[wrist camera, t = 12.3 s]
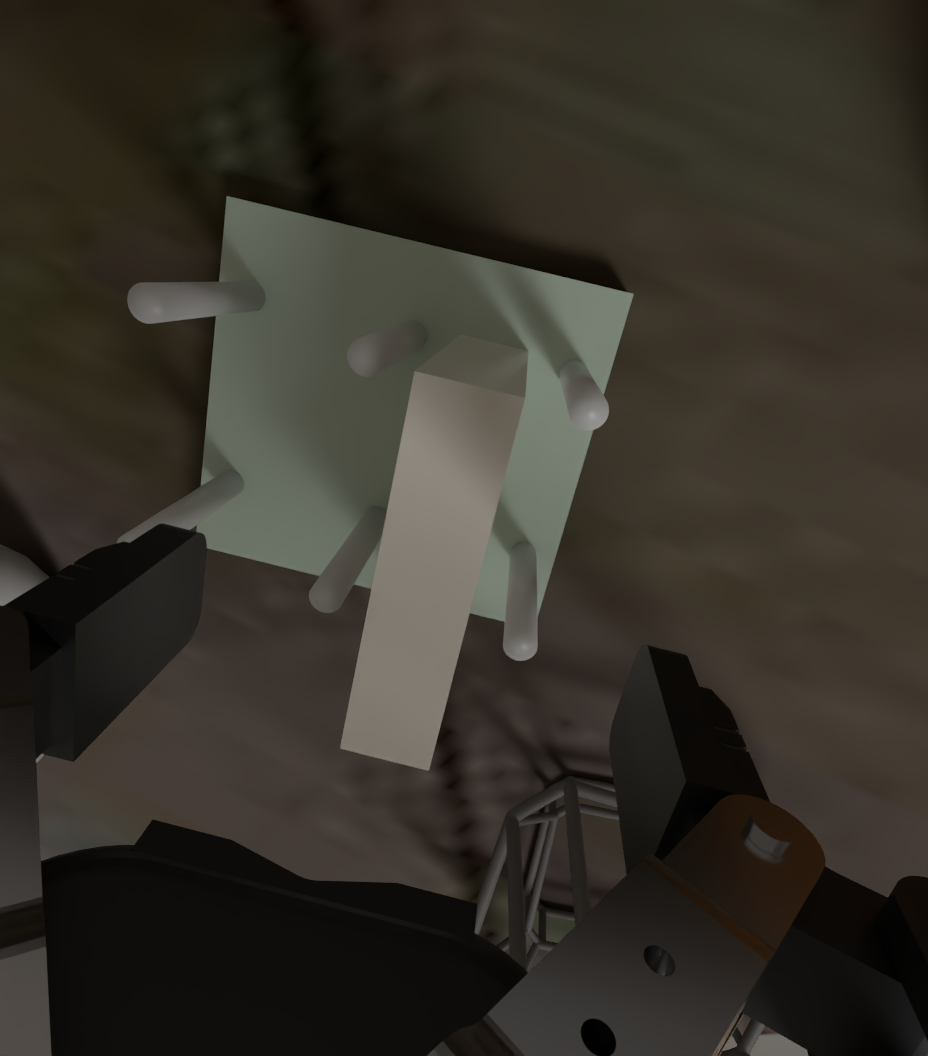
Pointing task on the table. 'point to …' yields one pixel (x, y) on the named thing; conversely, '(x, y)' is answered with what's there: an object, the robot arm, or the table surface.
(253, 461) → the dish rack
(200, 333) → the table surface
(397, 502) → the off-white rectangular prism
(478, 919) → the geometric lantern
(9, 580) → the donut
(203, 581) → the robot arm
